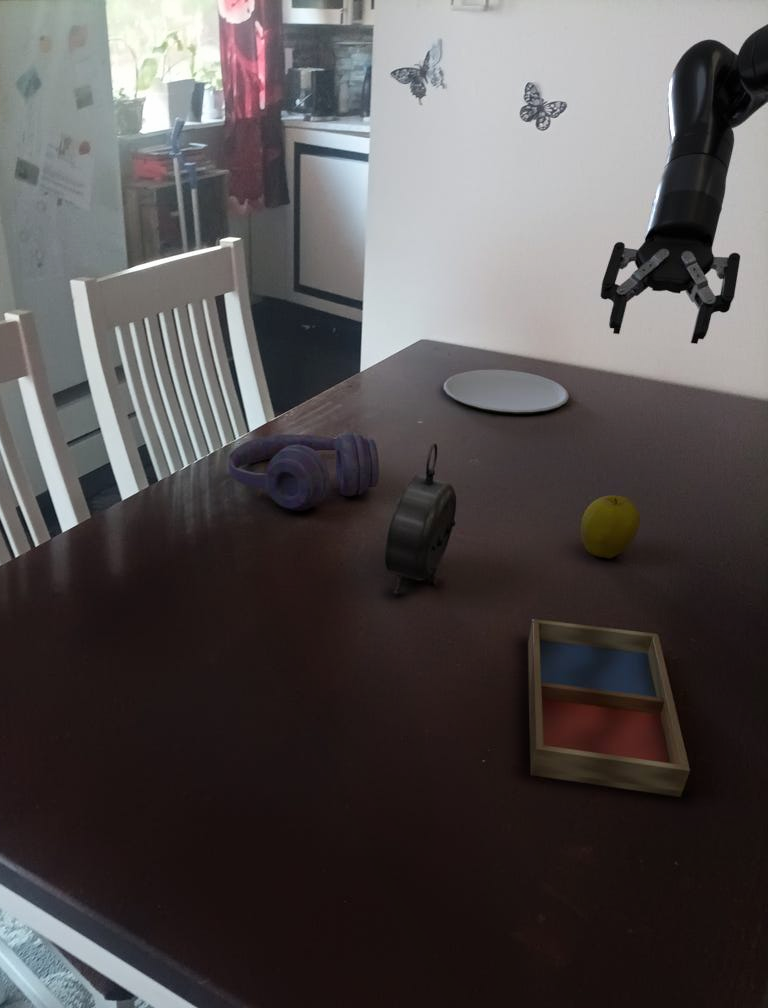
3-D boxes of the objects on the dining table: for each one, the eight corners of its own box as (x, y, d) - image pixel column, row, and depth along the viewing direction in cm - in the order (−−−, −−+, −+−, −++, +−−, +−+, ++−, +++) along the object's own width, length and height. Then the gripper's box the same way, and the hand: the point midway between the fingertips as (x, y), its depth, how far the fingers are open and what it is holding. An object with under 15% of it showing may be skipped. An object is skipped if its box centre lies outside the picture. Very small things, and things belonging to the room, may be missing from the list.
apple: (591, 570, 104) (605, 508, 99) (565, 544, 109) (578, 484, 104) (641, 565, 105) (658, 503, 100) (614, 540, 110) (629, 479, 106)
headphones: (401, 493, 119) (315, 463, 134) (400, 431, 115) (312, 408, 130) (285, 526, 110) (208, 491, 126) (280, 461, 107) (201, 432, 122)
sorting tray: (650, 658, 90) (658, 633, 88) (680, 797, 73) (690, 770, 72) (527, 643, 91) (532, 618, 90) (530, 775, 75) (536, 748, 74)
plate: (417, 393, 153) (418, 386, 152) (491, 368, 165) (492, 361, 164) (519, 428, 140) (520, 420, 140) (592, 398, 152) (593, 391, 151)
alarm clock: (411, 554, 107) (425, 422, 97) (455, 564, 105) (474, 431, 95) (378, 597, 98) (389, 458, 89) (424, 609, 96) (441, 468, 87)
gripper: (626, 182, 103) (593, 309, 101) (760, 192, 99) (729, 325, 97) (619, 224, 110) (589, 344, 108) (744, 235, 106) (715, 360, 104)
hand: (655, 335), depth 103 cm, fingers open, 8 cm apart
